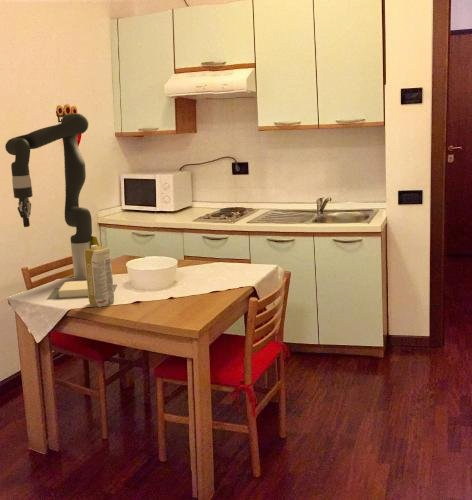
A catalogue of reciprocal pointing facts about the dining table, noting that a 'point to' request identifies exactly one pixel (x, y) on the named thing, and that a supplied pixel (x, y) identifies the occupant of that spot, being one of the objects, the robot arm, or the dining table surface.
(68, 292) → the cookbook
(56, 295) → the mat
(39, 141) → the robot arm
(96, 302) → the juice carton
